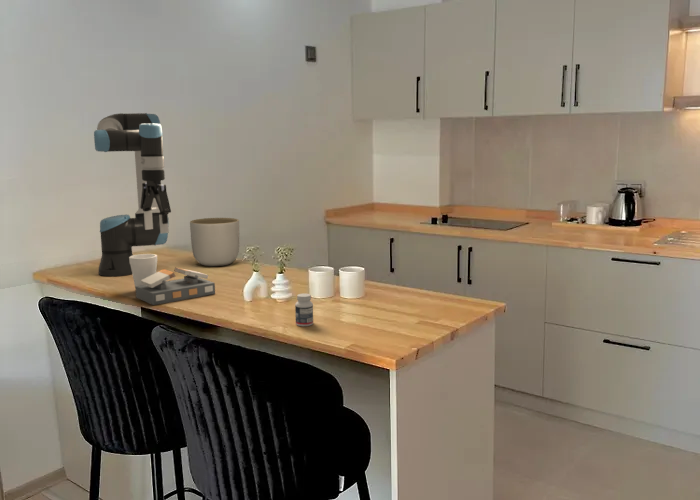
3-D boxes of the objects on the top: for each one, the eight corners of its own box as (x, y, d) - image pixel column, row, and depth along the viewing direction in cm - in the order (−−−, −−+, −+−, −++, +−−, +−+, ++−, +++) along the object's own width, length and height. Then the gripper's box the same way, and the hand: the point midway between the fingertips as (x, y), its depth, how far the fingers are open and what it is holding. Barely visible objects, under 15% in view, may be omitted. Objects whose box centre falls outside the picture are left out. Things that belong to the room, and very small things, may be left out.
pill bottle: (295, 321, 195) (295, 293, 194) (313, 321, 196) (312, 292, 194) (295, 326, 190) (295, 297, 189) (313, 326, 191) (313, 296, 189)
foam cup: (162, 292, 233) (159, 257, 230) (135, 296, 228) (133, 259, 226) (155, 287, 241) (152, 253, 238) (129, 290, 236) (126, 255, 234)
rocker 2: (173, 272, 231) (174, 267, 231) (195, 276, 237) (197, 271, 237) (184, 276, 225) (185, 270, 225) (207, 280, 231) (208, 275, 231)
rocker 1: (142, 285, 224) (140, 280, 223) (165, 274, 229) (163, 268, 228) (152, 289, 218) (150, 284, 217) (176, 277, 223) (174, 272, 222)
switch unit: (136, 297, 226) (135, 281, 225) (196, 287, 241) (195, 272, 240) (153, 305, 215) (152, 288, 214) (215, 294, 230) (214, 278, 229)
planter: (235, 268, 274) (234, 223, 270) (186, 268, 274) (184, 224, 271) (244, 259, 294) (242, 217, 291) (198, 259, 294) (196, 217, 291)
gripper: (128, 168, 231) (132, 228, 235) (157, 170, 214) (161, 236, 218) (148, 167, 236) (151, 226, 240) (179, 169, 219) (182, 233, 222)
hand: (156, 231), depth 229 cm, fingers open, 12 cm apart
